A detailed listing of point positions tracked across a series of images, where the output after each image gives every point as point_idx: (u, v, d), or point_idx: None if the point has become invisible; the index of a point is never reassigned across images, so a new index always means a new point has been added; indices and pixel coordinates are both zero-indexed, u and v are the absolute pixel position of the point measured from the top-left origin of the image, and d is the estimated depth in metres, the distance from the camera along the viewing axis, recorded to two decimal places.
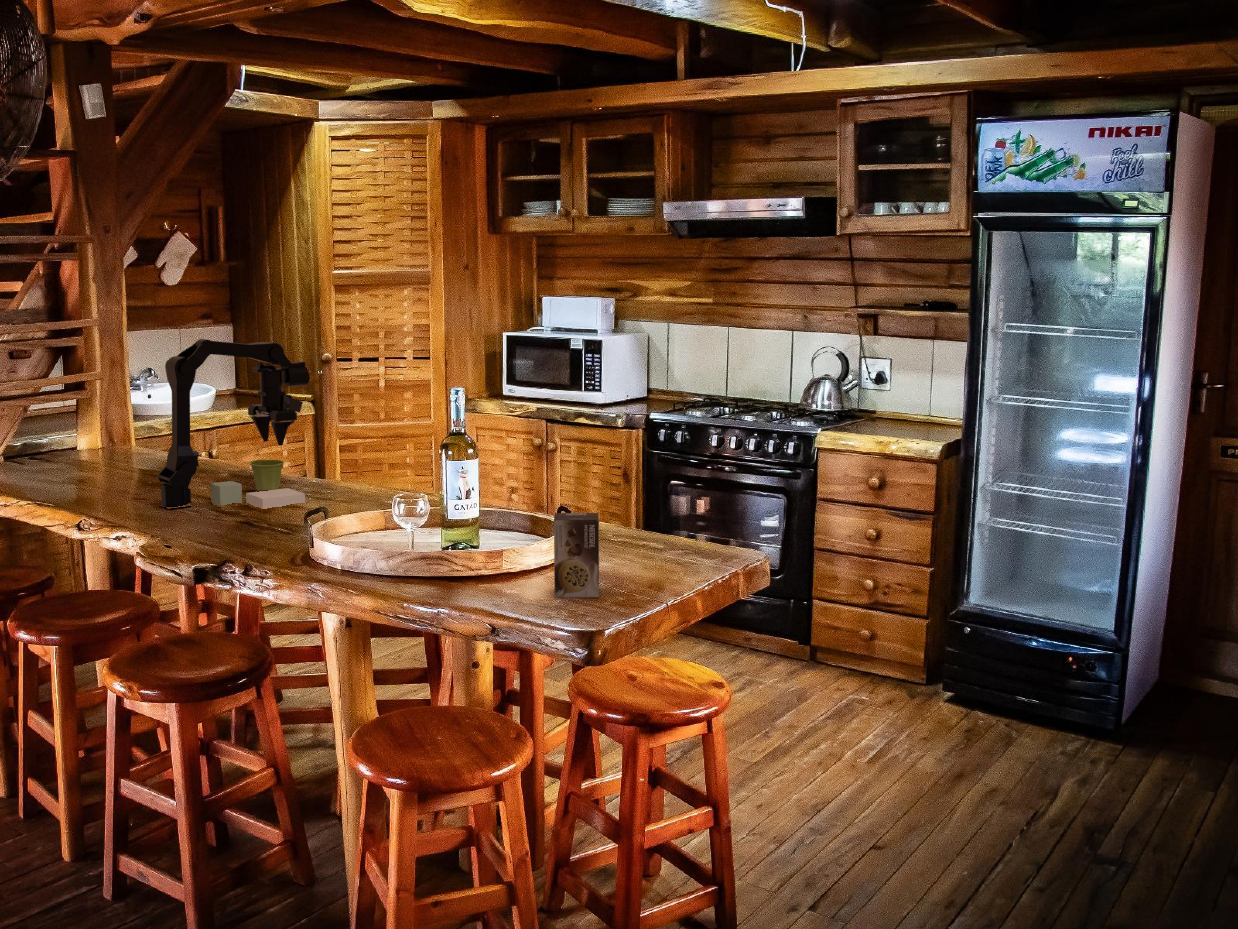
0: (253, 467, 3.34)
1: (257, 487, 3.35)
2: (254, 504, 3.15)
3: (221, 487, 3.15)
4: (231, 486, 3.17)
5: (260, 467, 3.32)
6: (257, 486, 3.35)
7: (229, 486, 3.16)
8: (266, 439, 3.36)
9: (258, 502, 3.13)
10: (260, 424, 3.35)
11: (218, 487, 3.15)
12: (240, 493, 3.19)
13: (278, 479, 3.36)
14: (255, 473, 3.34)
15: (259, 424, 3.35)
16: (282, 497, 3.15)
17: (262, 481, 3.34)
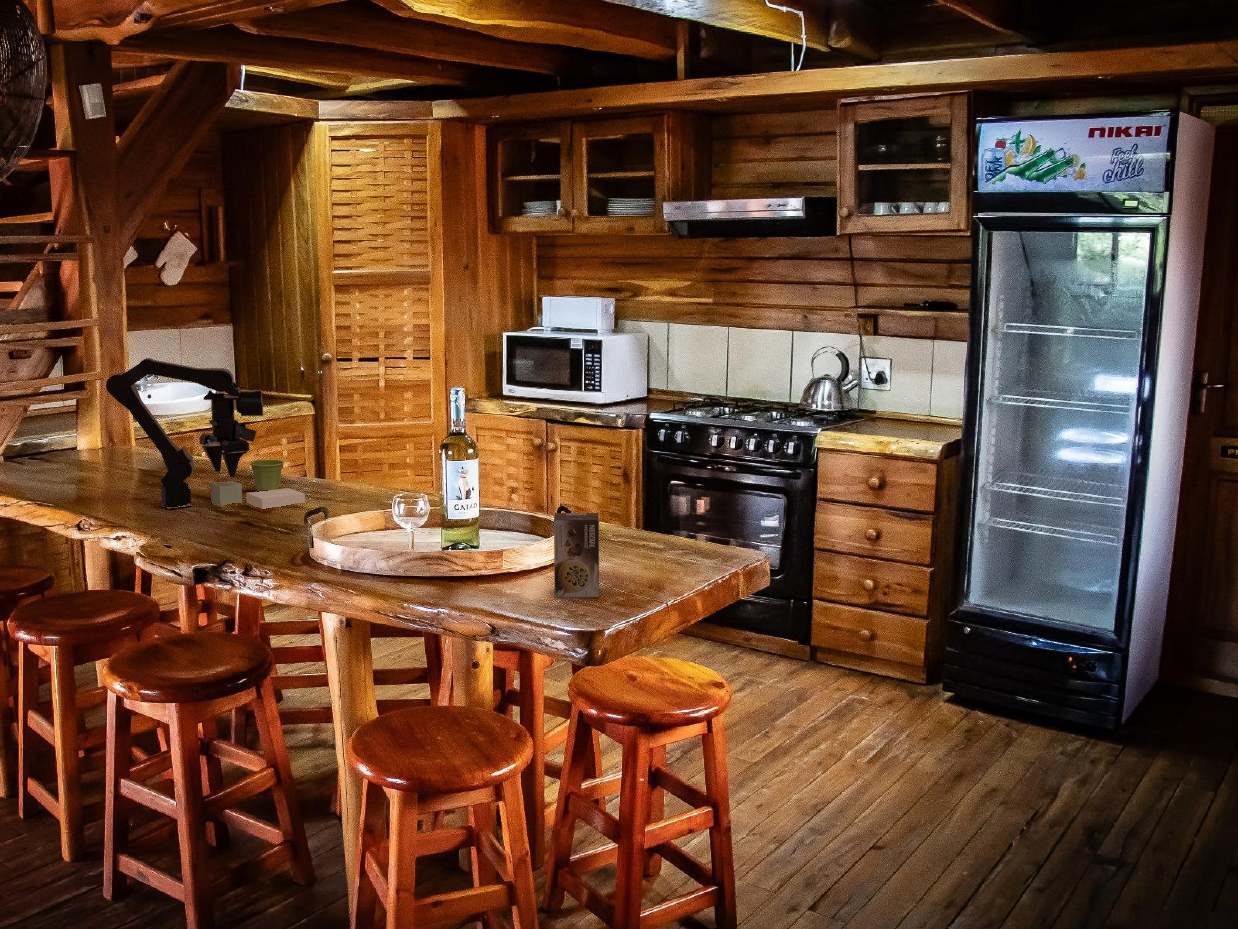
0: (253, 467, 3.34)
1: (257, 487, 3.35)
2: (254, 504, 3.15)
3: (221, 487, 3.15)
4: (231, 486, 3.17)
5: (260, 467, 3.32)
6: (257, 486, 3.35)
7: (229, 486, 3.16)
8: (218, 469, 3.22)
9: (258, 502, 3.13)
10: (212, 454, 3.20)
11: (218, 487, 3.15)
12: (240, 493, 3.19)
13: (278, 479, 3.36)
14: (255, 473, 3.34)
15: (211, 454, 3.20)
16: (282, 497, 3.14)
17: (262, 481, 3.34)
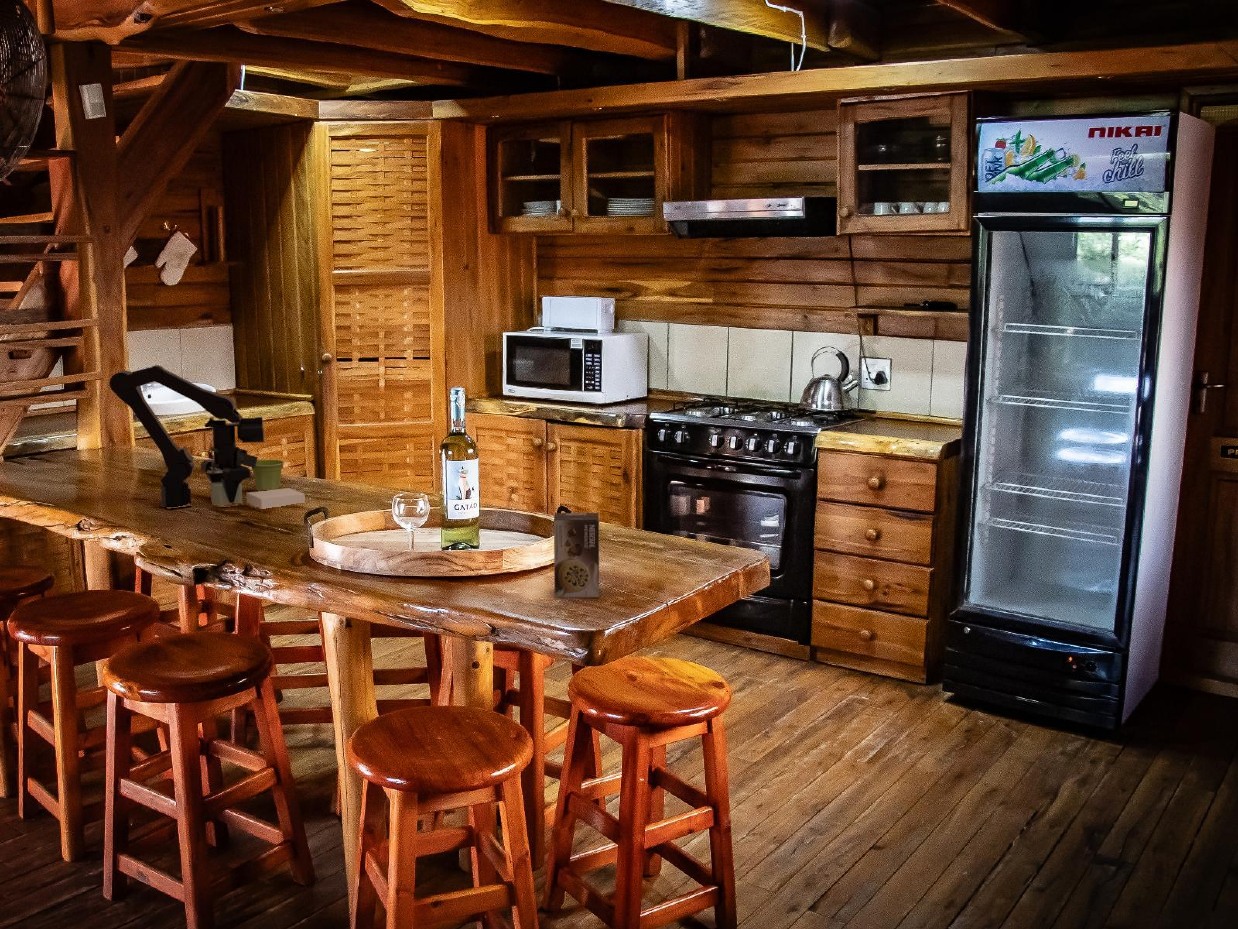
0: None
1: (257, 487, 3.35)
2: (254, 504, 3.15)
3: (221, 487, 3.15)
4: None
5: (260, 467, 3.32)
6: (257, 486, 3.35)
7: None
8: None
9: (257, 502, 3.13)
10: (215, 481, 3.20)
11: (218, 487, 3.15)
12: (240, 493, 3.19)
13: (278, 479, 3.36)
14: (255, 473, 3.34)
15: None
16: (281, 497, 3.14)
17: (262, 481, 3.34)
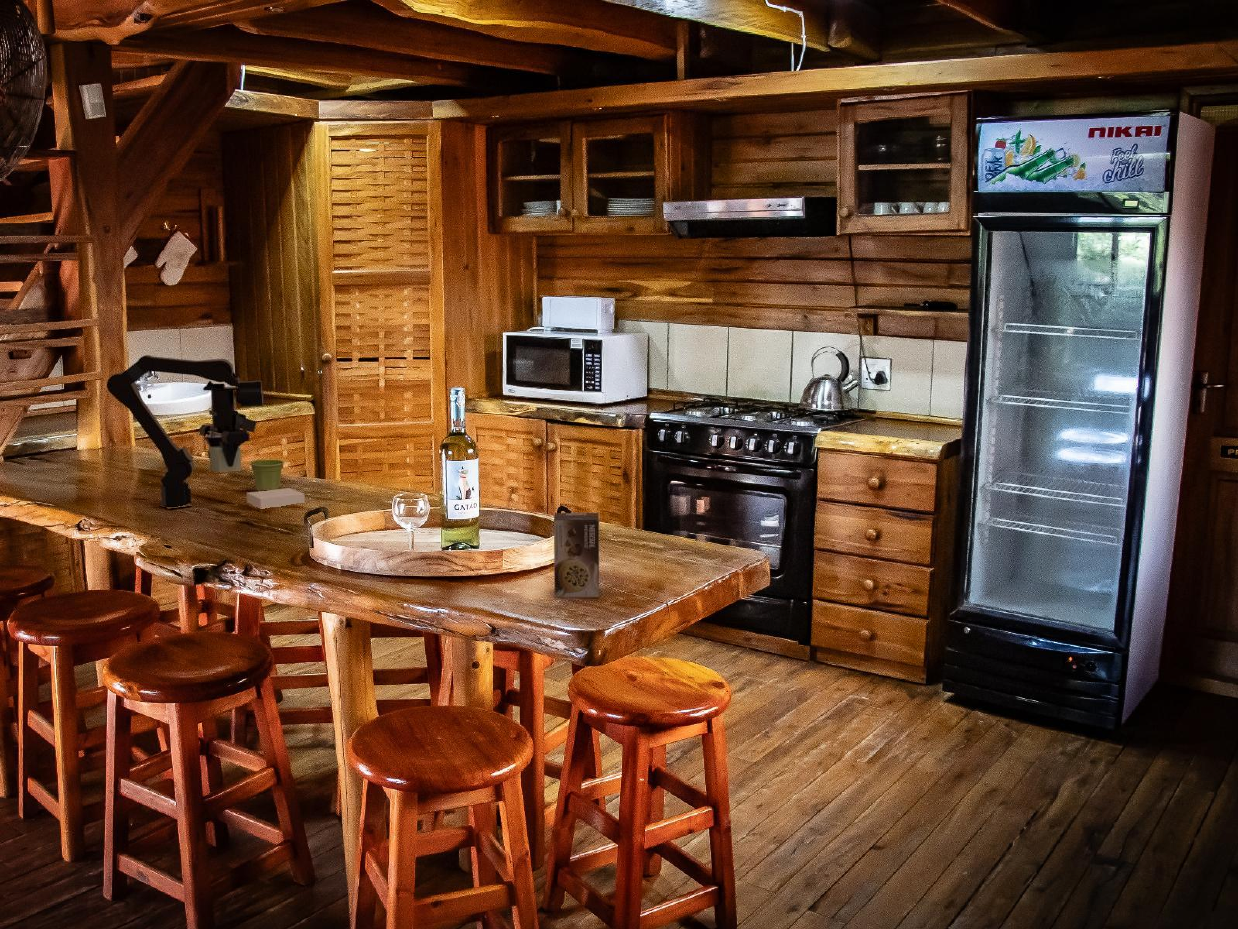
0: (253, 467, 3.34)
1: (257, 487, 3.35)
2: (253, 504, 3.15)
3: (220, 450, 3.13)
4: None
5: (260, 467, 3.32)
6: (257, 486, 3.35)
7: None
8: None
9: (257, 502, 3.13)
10: (214, 445, 3.19)
11: (217, 450, 3.14)
12: (239, 457, 3.17)
13: (278, 479, 3.36)
14: (255, 473, 3.34)
15: (213, 446, 3.19)
16: (281, 497, 3.14)
17: (262, 481, 3.34)
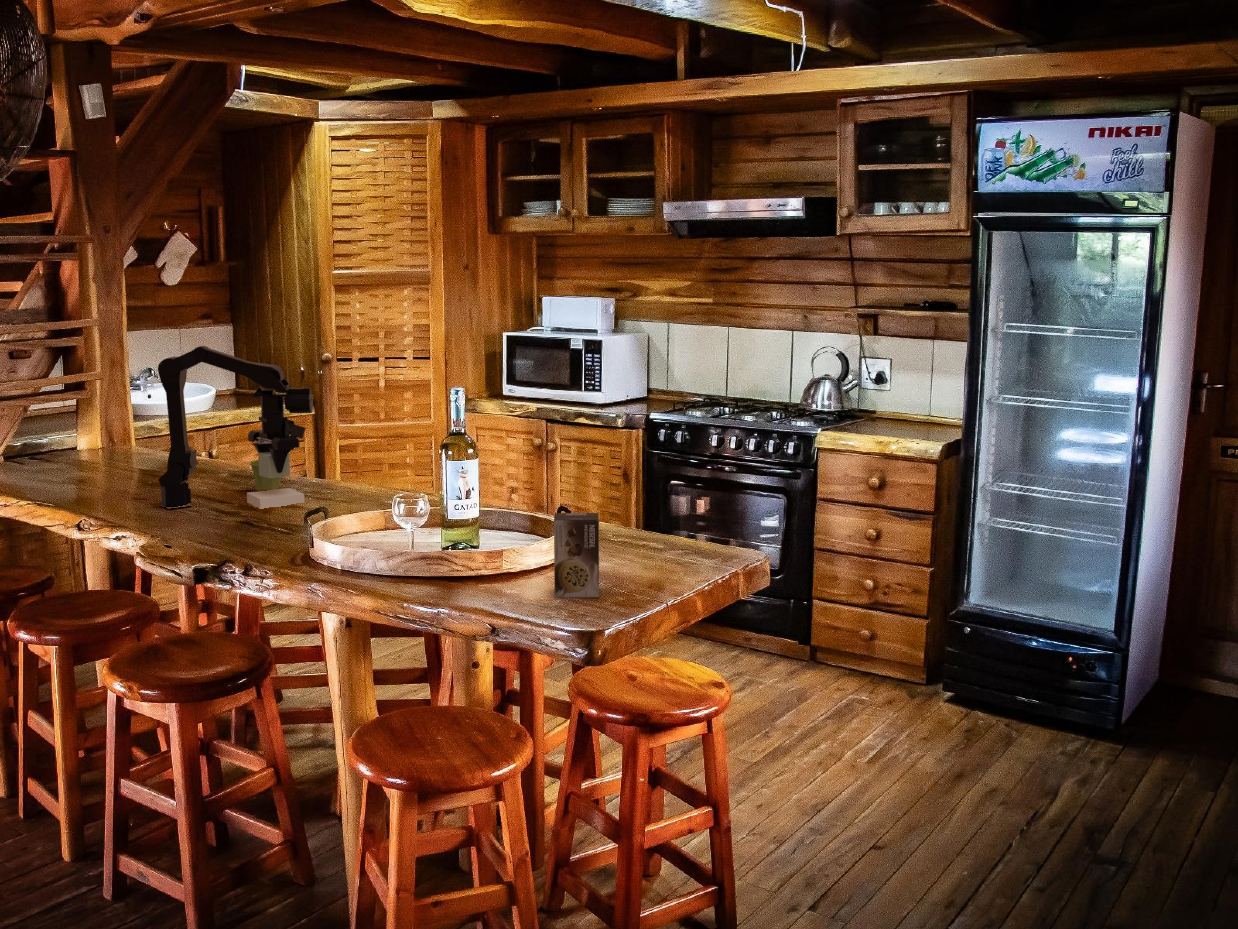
0: (253, 467, 3.34)
1: (257, 487, 3.35)
2: (253, 504, 3.15)
3: (269, 456, 3.13)
4: None
5: None
6: (257, 486, 3.35)
7: None
8: None
9: (256, 502, 3.13)
10: (263, 451, 3.18)
11: (266, 456, 3.13)
12: (288, 463, 3.17)
13: (278, 479, 3.36)
14: (255, 473, 3.34)
15: (262, 452, 3.18)
16: (280, 497, 3.14)
17: (262, 481, 3.34)
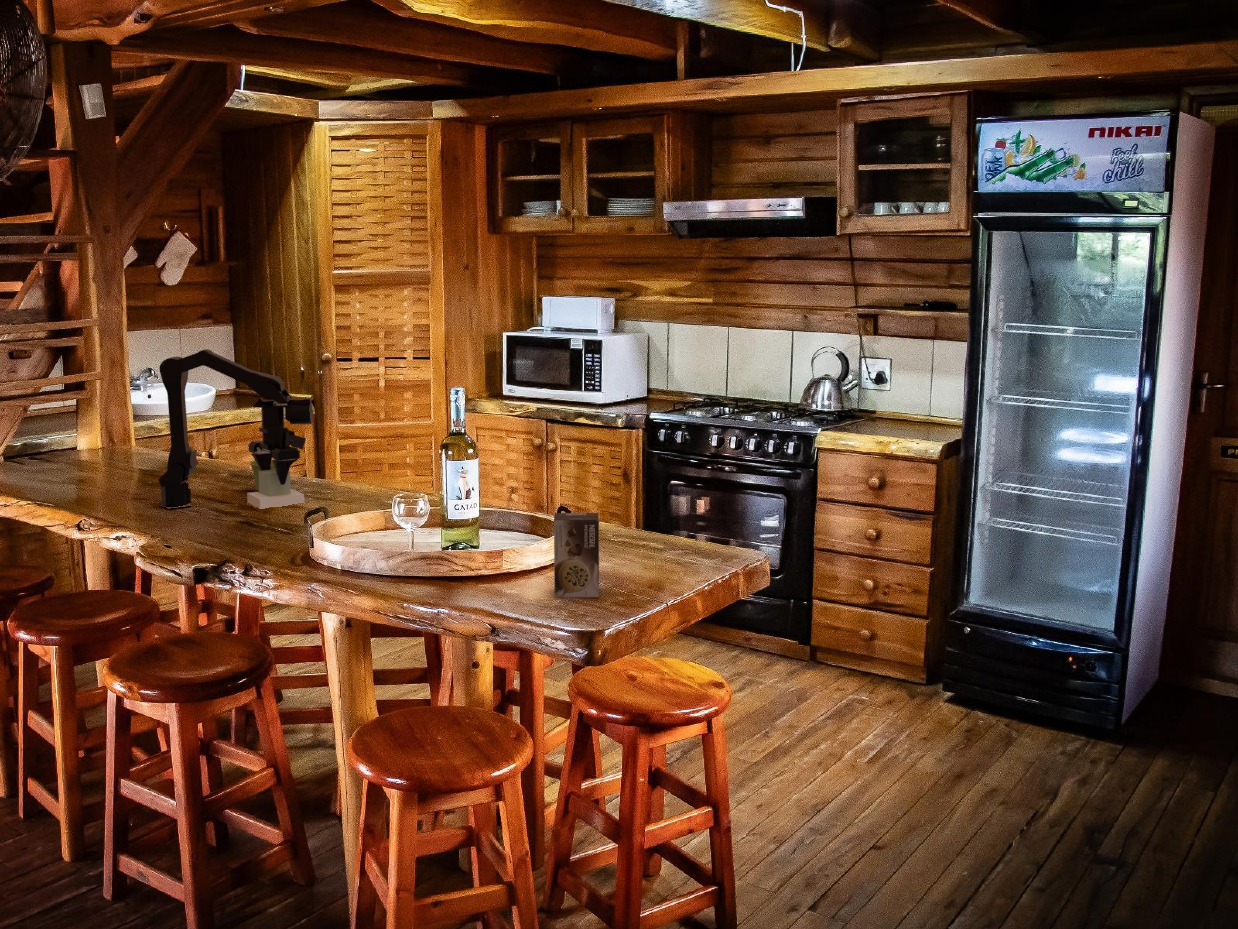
0: (253, 467, 3.34)
1: (257, 487, 3.35)
2: (253, 504, 3.15)
3: (271, 475, 3.14)
4: None
5: None
6: (257, 486, 3.35)
7: None
8: None
9: (256, 502, 3.13)
10: (261, 461, 3.20)
11: (267, 475, 3.14)
12: (289, 481, 3.18)
13: None
14: (255, 473, 3.34)
15: (260, 462, 3.20)
16: (280, 498, 3.14)
17: None
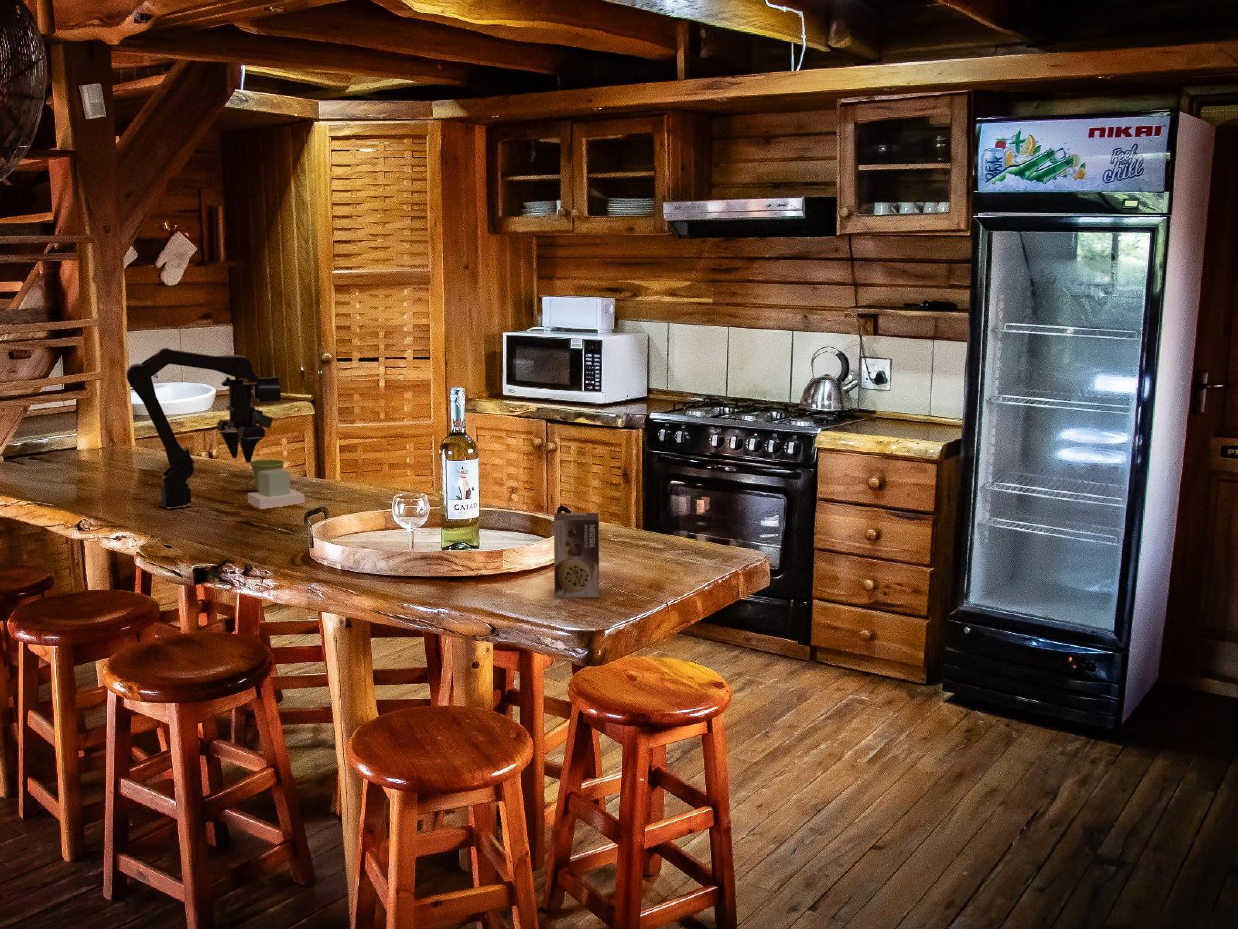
0: (253, 467, 3.34)
1: (257, 487, 3.35)
2: (254, 504, 3.15)
3: (270, 475, 3.13)
4: (280, 474, 3.15)
5: (260, 467, 3.32)
6: (257, 486, 3.35)
7: (278, 474, 3.15)
8: (235, 455, 3.25)
9: (257, 503, 3.13)
10: (229, 440, 3.24)
11: (267, 475, 3.14)
12: (288, 481, 3.17)
13: None
14: (255, 473, 3.34)
15: (228, 440, 3.24)
16: (280, 498, 3.14)
17: None
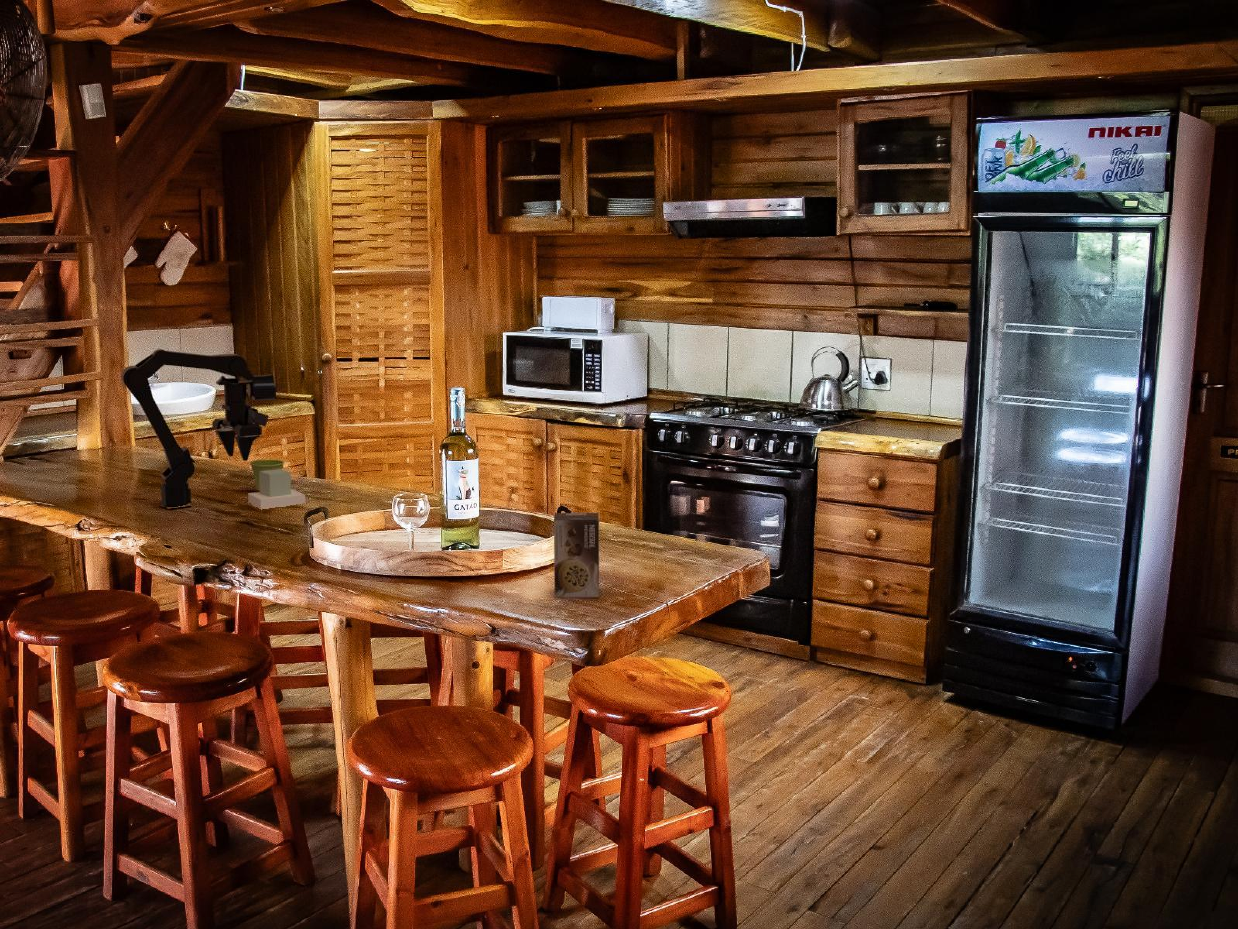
0: (253, 467, 3.34)
1: (257, 487, 3.35)
2: (254, 504, 3.15)
3: (271, 475, 3.13)
4: (280, 474, 3.15)
5: (260, 467, 3.32)
6: (257, 486, 3.35)
7: (278, 474, 3.15)
8: (231, 454, 3.25)
9: (257, 503, 3.13)
10: (225, 438, 3.24)
11: (268, 475, 3.14)
12: (289, 481, 3.17)
13: None
14: (255, 473, 3.34)
15: (224, 439, 3.24)
16: (281, 498, 3.14)
17: None
